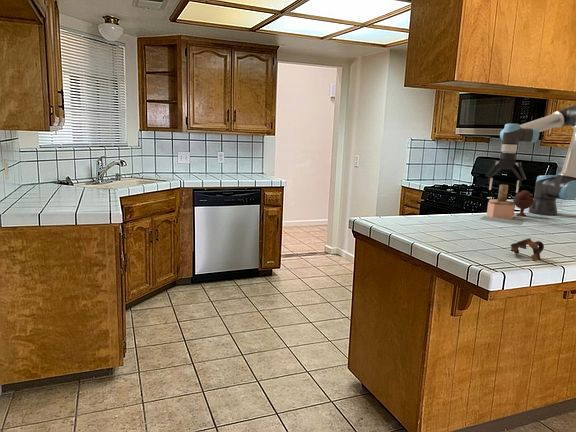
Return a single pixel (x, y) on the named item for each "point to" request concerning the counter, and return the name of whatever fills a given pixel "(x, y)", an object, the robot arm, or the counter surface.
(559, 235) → the counter surface
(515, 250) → the brown curved piece
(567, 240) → the counter surface
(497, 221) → the mat
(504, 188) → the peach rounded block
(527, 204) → the ice cream bowl
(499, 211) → the pink squat block
